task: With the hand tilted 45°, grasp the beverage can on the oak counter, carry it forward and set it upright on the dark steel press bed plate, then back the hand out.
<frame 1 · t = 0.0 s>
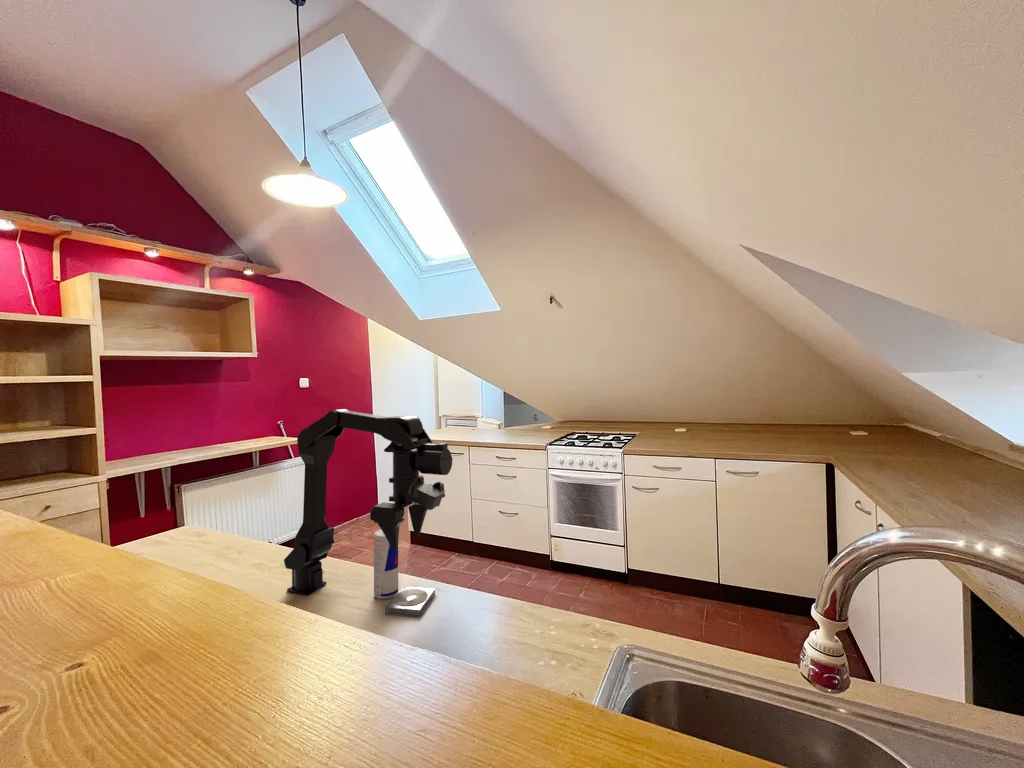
hand: (406, 541, 98), 15 cm above the counter, tool pointing down, fingers open, 9 cm apart
press bed: (410, 604, 100), on the counter
beverage can: (386, 595, 104), on the counter
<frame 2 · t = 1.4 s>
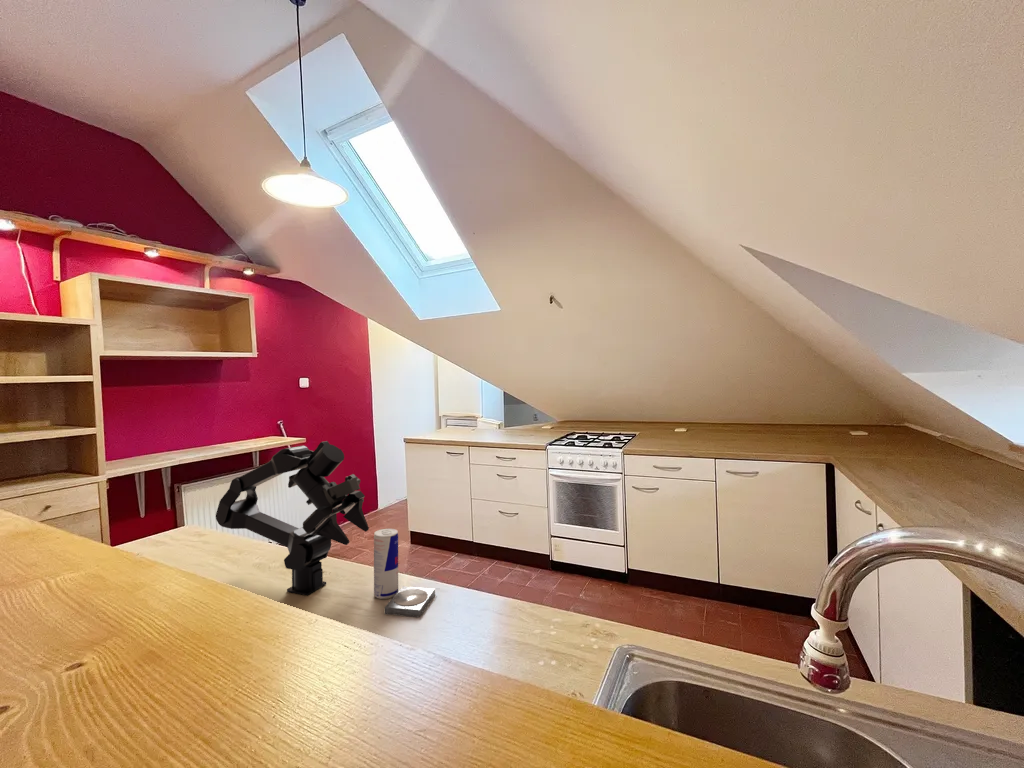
hand: (358, 536, 105), 13 cm above the counter, tool tilted 45°, fingers open, 9 cm apart
nothing on the counter moved.
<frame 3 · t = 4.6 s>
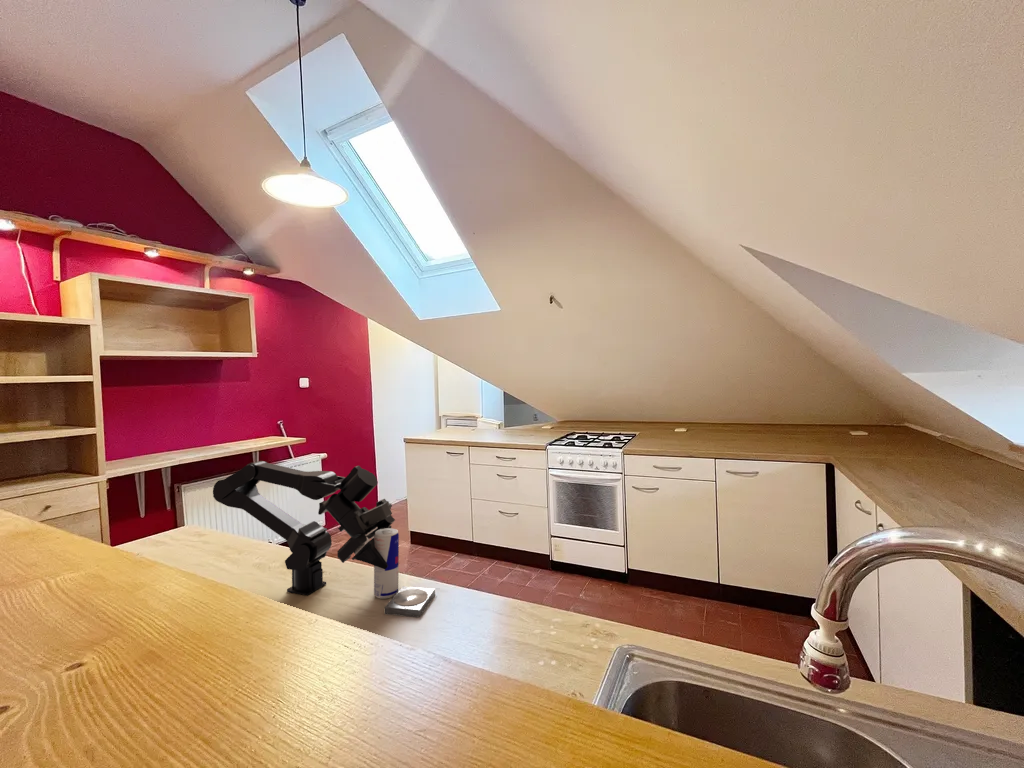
hand: (391, 562, 104), 8 cm above the counter, tool tilted 45°, fingers closed on beverage can, 5 cm apart
beverage can: (386, 595, 104), on the counter, touching gripper
when the fingers open (10 cm above the counter, at t = 7.6 s): beverage can stays where it is, resting on press bed.
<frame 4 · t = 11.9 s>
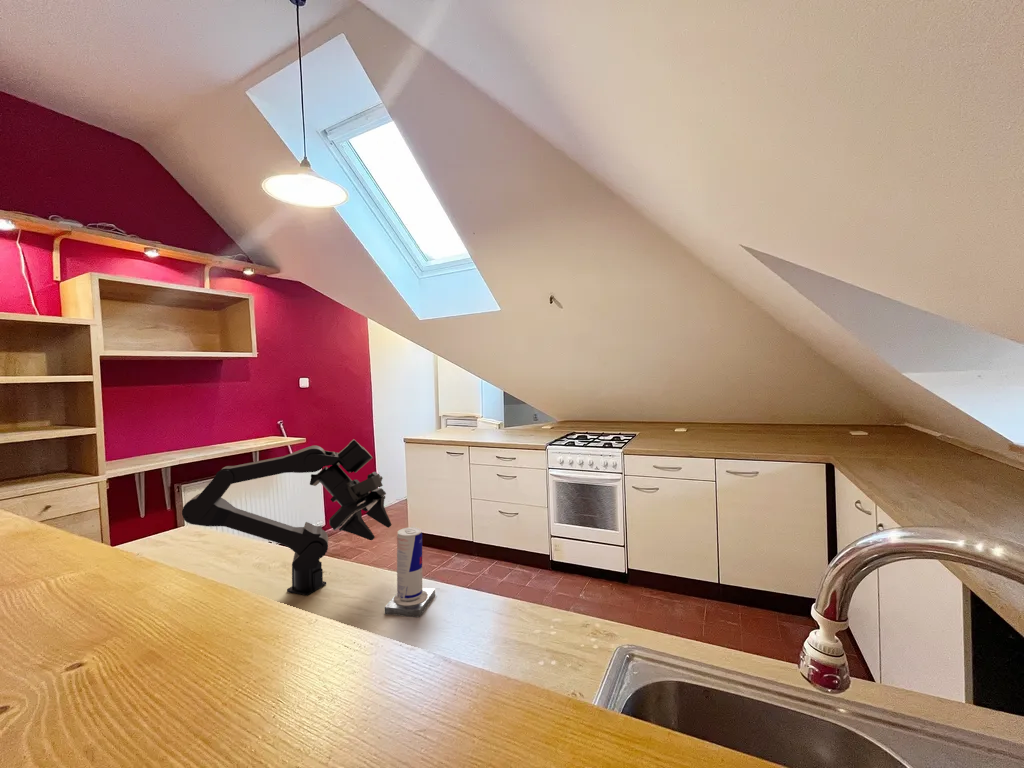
hand: (382, 532, 108), 14 cm above the counter, tool tilted 45°, fingers open, 9 cm apart
beverage can: (409, 597, 100), point 1 cm above the counter, touching press bed
at the end: beverage can 0.3 cm off-centre on the press bed, point 1.5 cm above the press bed's base; beverage can tilted 0°; the gripper is holding nothing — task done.
